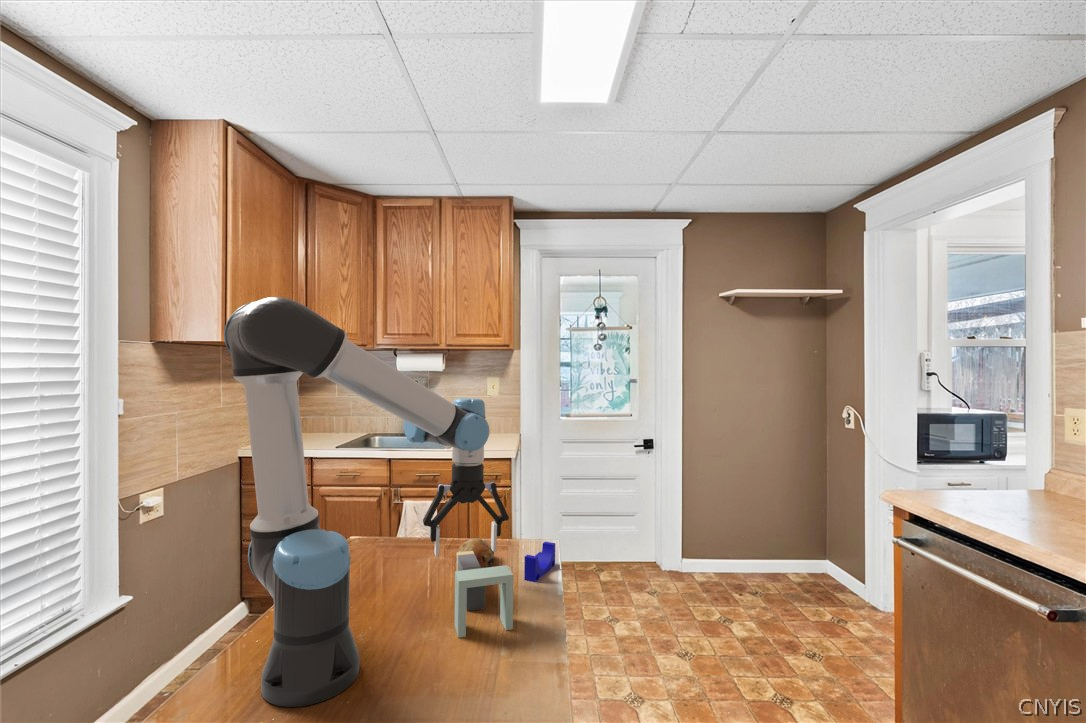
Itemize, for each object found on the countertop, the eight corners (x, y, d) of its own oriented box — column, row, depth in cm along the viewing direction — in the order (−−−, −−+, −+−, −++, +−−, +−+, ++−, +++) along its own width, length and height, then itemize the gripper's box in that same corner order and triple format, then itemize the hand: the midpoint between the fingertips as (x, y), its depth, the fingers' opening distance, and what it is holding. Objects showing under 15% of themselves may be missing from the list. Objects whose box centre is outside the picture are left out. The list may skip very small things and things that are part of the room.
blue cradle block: (539, 563, 139) (539, 540, 139) (555, 565, 137) (555, 543, 137) (519, 579, 128) (519, 555, 128) (535, 583, 126) (535, 558, 126)
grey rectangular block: (466, 611, 111) (467, 578, 111) (456, 581, 126) (456, 552, 126) (485, 608, 112) (485, 576, 112) (472, 579, 128) (472, 550, 128)
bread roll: (483, 567, 144) (477, 538, 146) (504, 561, 137) (497, 531, 140) (453, 577, 137) (446, 546, 140) (474, 571, 130) (466, 539, 133)
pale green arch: (458, 637, 100) (458, 581, 100) (454, 625, 105) (454, 571, 105) (513, 629, 104) (513, 574, 104) (507, 617, 108) (507, 565, 108)
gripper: (415, 467, 116) (412, 562, 116) (522, 464, 124) (520, 553, 123) (413, 461, 123) (410, 551, 123) (514, 458, 131) (512, 542, 131)
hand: (465, 552), depth 123 cm, fingers open, 13 cm apart
